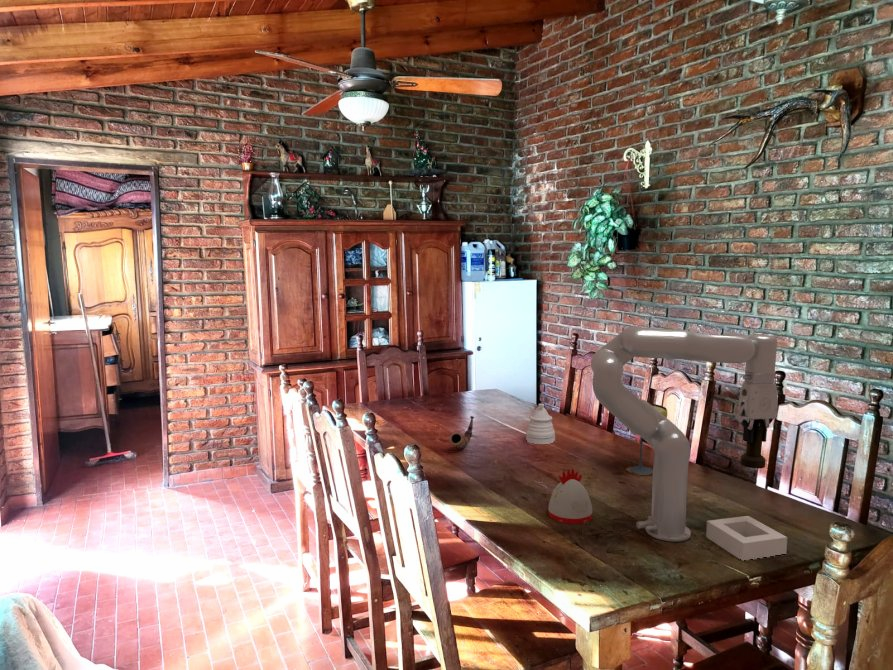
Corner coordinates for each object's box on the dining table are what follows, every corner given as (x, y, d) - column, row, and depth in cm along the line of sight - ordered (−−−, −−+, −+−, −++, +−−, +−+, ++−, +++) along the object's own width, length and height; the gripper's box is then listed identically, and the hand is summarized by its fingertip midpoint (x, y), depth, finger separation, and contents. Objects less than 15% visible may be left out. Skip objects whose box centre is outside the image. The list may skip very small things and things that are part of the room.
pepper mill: (742, 460, 183) (747, 400, 181) (767, 464, 179) (772, 403, 177) (737, 465, 177) (742, 404, 175) (762, 470, 173) (768, 407, 171)
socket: (742, 561, 166) (743, 543, 165) (706, 537, 180) (706, 520, 180) (786, 554, 169) (787, 537, 169) (747, 531, 184) (748, 515, 183)
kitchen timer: (540, 510, 201) (540, 465, 199) (576, 503, 206) (576, 460, 205) (563, 526, 188) (564, 479, 187) (601, 519, 193) (602, 473, 192)
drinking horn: (448, 454, 260) (448, 431, 259) (466, 436, 288) (466, 415, 287) (461, 455, 259) (461, 432, 258) (478, 437, 287) (478, 415, 285)
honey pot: (557, 446, 270) (557, 406, 268) (527, 446, 270) (528, 406, 268) (552, 438, 283) (552, 400, 281) (524, 438, 283) (524, 400, 281)
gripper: (745, 381, 169) (740, 447, 171) (793, 379, 174) (788, 443, 176) (725, 376, 176) (720, 439, 178) (772, 374, 181) (767, 435, 183)
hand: (754, 440), depth 177 cm, fingers closed on pepper mill, 3 cm apart
